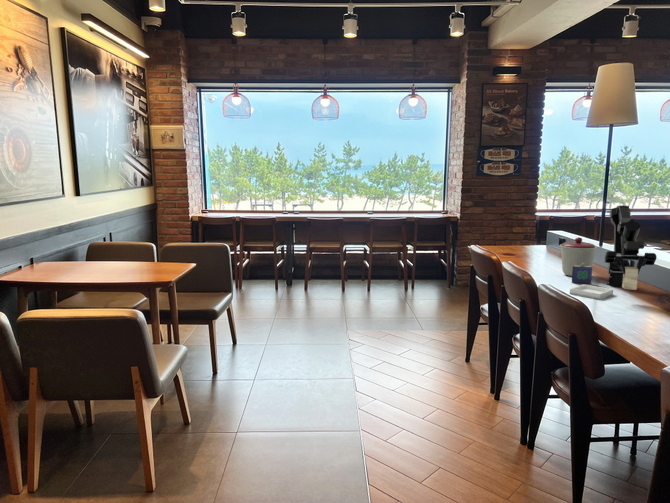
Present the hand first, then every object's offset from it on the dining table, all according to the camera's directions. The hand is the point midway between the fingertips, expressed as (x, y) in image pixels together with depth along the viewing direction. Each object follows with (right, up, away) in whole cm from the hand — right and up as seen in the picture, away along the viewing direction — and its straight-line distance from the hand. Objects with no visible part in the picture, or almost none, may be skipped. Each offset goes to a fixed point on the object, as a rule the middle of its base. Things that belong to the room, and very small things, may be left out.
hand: (631, 273), depth 202 cm
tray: (-8, -10, +17) cm, 22 cm away
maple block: (+1, -6, +2) cm, 7 cm away
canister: (+6, -4, +58) cm, 58 cm away
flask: (-1, -7, +39) cm, 40 cm away
